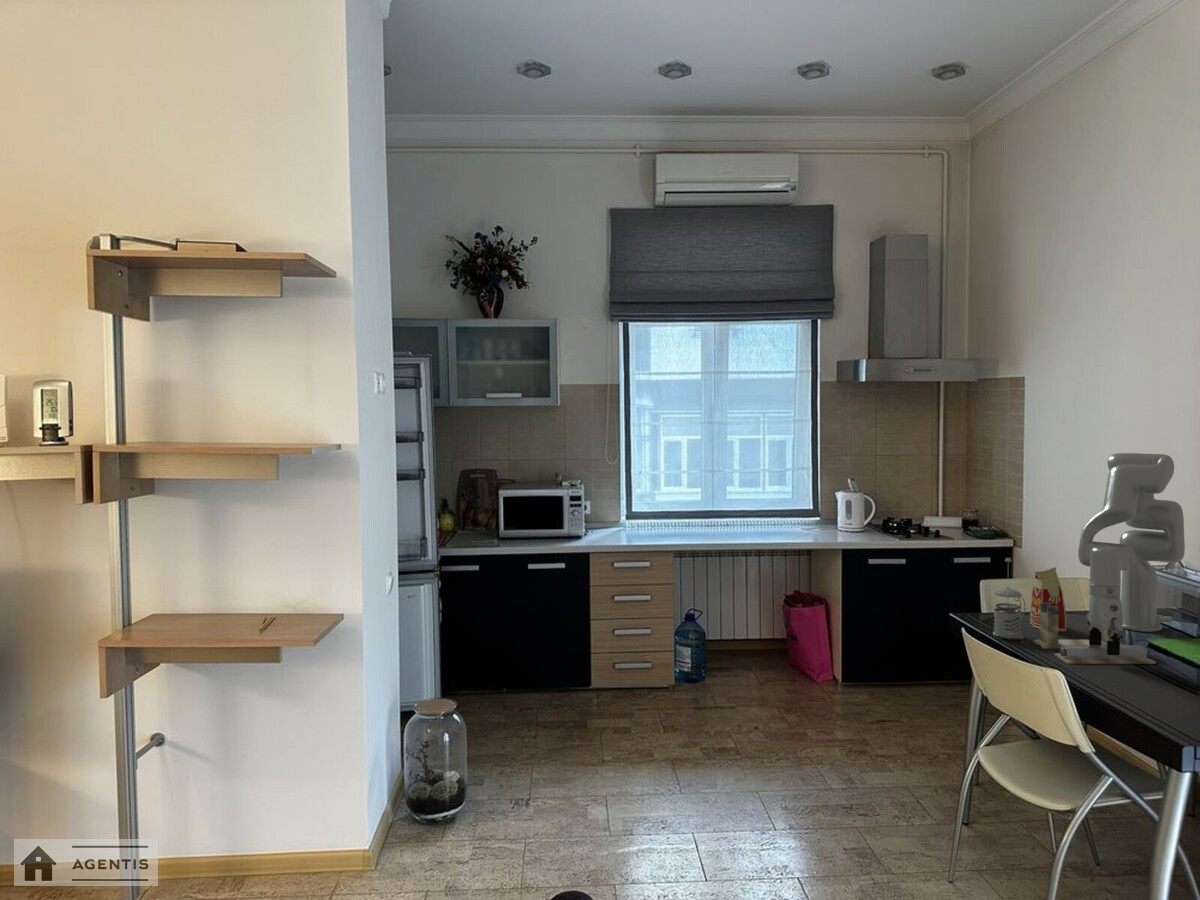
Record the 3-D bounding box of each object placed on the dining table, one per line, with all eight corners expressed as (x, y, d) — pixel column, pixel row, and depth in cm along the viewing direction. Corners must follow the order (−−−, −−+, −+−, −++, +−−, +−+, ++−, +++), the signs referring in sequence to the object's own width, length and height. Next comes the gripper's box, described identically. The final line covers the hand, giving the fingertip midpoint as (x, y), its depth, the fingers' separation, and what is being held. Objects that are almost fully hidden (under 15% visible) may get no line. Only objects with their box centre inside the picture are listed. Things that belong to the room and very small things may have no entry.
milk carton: (1055, 624, 283) (1056, 564, 282) (1067, 631, 274) (1068, 569, 272) (1026, 623, 284) (1027, 564, 283) (1038, 631, 274) (1038, 569, 273)
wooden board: (1139, 655, 247) (1139, 653, 247) (1155, 663, 239) (1155, 661, 239) (1054, 655, 248) (1054, 653, 248) (1067, 663, 240) (1067, 661, 240)
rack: (1114, 642, 260) (1115, 602, 259) (1125, 648, 254) (1126, 606, 253) (1034, 642, 261) (1034, 602, 261) (1043, 648, 255) (1043, 607, 255)
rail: (1143, 655, 245) (1143, 645, 245) (1149, 658, 242) (1149, 648, 242) (1058, 655, 246) (1058, 645, 246) (1063, 658, 243) (1064, 648, 243)
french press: (983, 634, 272) (984, 556, 270) (1010, 630, 276) (1010, 553, 275) (1009, 642, 263) (1009, 561, 261) (1036, 637, 267) (1037, 558, 266)
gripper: (1135, 597, 234) (1134, 659, 235) (1102, 584, 251) (1101, 641, 252) (1107, 597, 234) (1106, 659, 235) (1076, 584, 251) (1075, 641, 252)
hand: (1104, 649), depth 244 cm, fingers open, 9 cm apart
